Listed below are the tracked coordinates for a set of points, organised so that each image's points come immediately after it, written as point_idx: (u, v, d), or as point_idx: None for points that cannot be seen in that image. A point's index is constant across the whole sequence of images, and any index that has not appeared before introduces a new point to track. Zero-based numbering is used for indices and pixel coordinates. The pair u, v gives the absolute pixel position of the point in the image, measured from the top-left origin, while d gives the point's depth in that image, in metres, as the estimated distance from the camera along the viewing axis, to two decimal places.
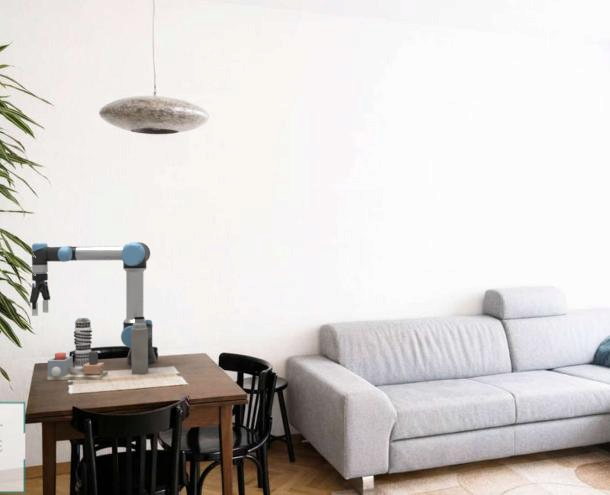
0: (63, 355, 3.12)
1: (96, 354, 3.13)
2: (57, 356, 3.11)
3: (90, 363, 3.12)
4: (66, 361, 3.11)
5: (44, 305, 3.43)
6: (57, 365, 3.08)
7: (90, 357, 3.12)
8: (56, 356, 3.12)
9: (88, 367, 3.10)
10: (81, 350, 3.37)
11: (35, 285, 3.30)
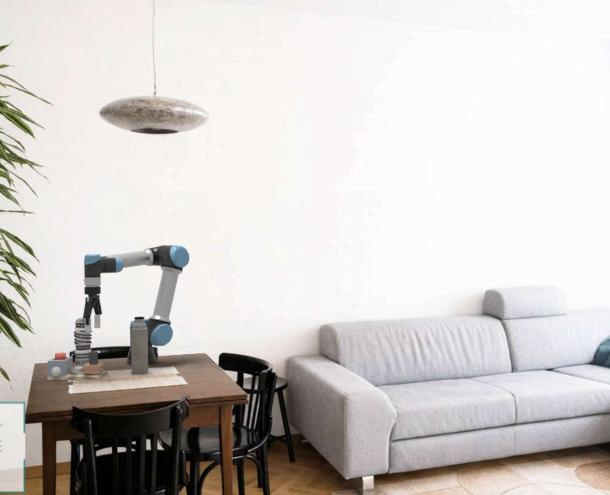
0: (63, 355, 3.12)
1: (96, 354, 3.13)
2: (57, 356, 3.11)
3: (90, 363, 3.12)
4: (66, 361, 3.11)
5: (96, 320, 3.20)
6: (57, 365, 3.08)
7: (90, 357, 3.12)
8: (56, 356, 3.12)
9: (88, 367, 3.10)
10: (81, 350, 3.37)
11: (88, 299, 3.07)
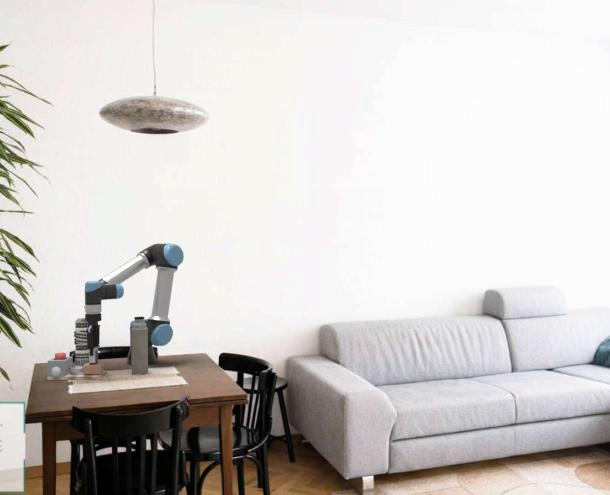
0: (63, 355, 3.12)
1: (96, 354, 3.13)
2: (57, 356, 3.11)
3: (90, 363, 3.12)
4: (66, 361, 3.11)
5: None
6: (57, 365, 3.08)
7: None
8: (56, 356, 3.12)
9: (88, 367, 3.10)
10: (81, 350, 3.37)
11: (90, 331, 3.07)
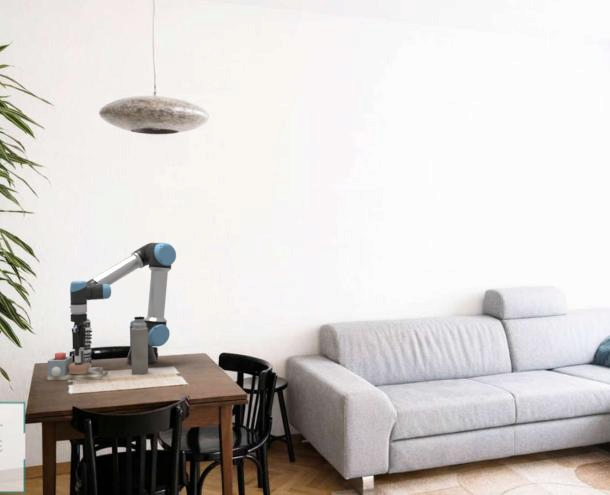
0: (63, 355, 3.12)
1: (81, 354, 3.13)
2: (57, 356, 3.11)
3: (75, 363, 3.12)
4: (66, 361, 3.11)
5: None
6: (57, 365, 3.08)
7: None
8: (56, 356, 3.12)
9: (73, 367, 3.10)
10: None
11: (75, 331, 3.07)
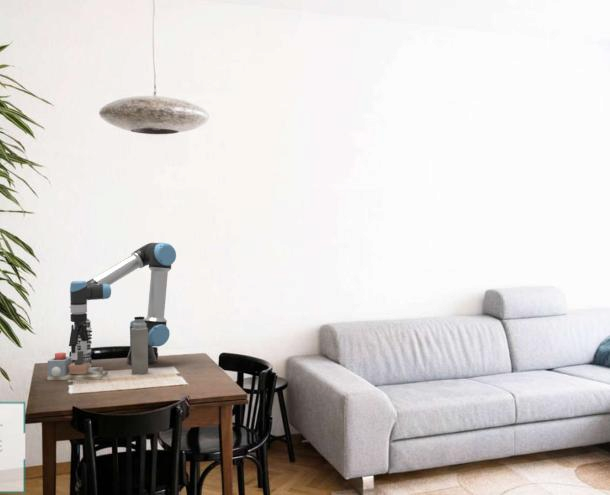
0: (63, 355, 3.12)
1: (81, 354, 3.13)
2: (57, 356, 3.11)
3: (75, 363, 3.12)
4: (66, 361, 3.11)
5: (82, 347, 3.20)
6: (57, 365, 3.08)
7: None
8: (56, 356, 3.12)
9: (73, 367, 3.10)
10: None
11: (74, 327, 3.07)
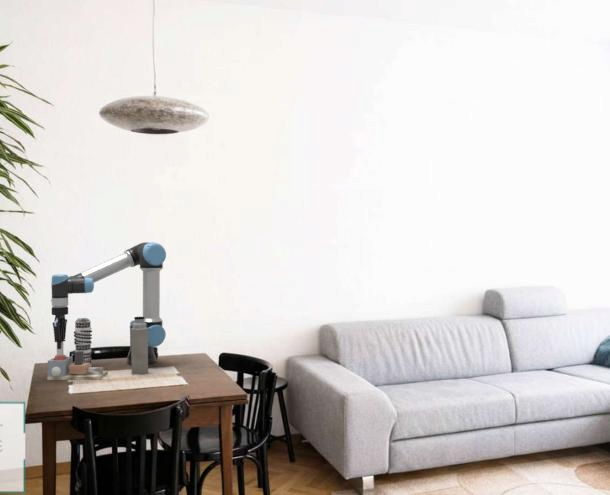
0: (63, 357, 3.12)
1: (81, 354, 3.13)
2: (57, 359, 3.11)
3: (75, 363, 3.12)
4: (66, 361, 3.11)
5: None
6: (57, 365, 3.08)
7: (75, 357, 3.12)
8: (56, 358, 3.12)
9: (73, 367, 3.10)
10: (81, 350, 3.37)
11: (56, 325, 3.08)
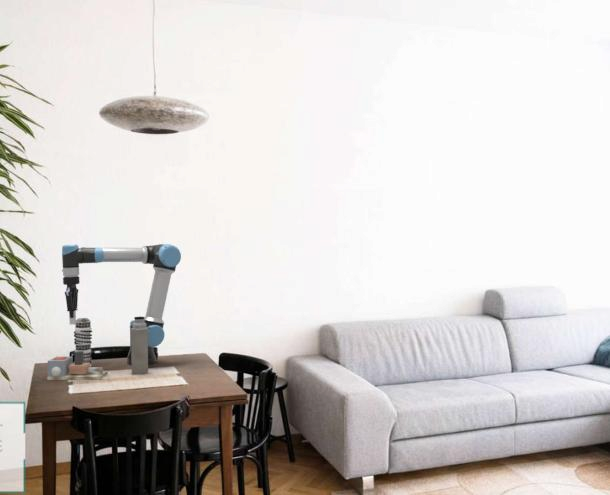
0: (63, 359, 3.12)
1: (81, 354, 3.13)
2: None
3: (75, 363, 3.12)
4: (66, 361, 3.11)
5: None
6: (57, 365, 3.08)
7: (75, 357, 3.12)
8: None
9: (73, 367, 3.10)
10: (81, 350, 3.37)
11: (68, 294, 3.12)
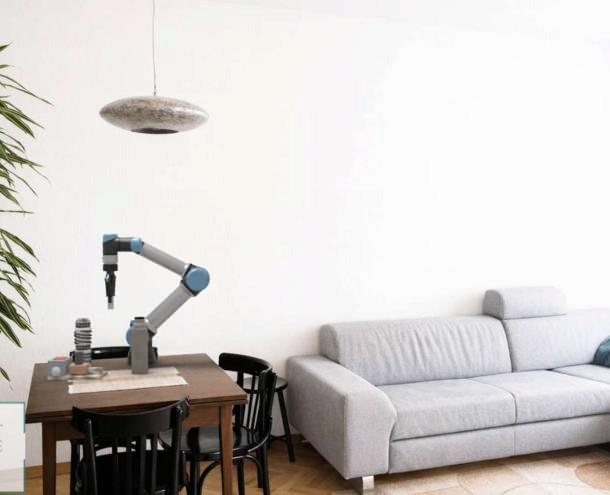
0: (63, 359, 3.12)
1: (81, 354, 3.13)
2: None
3: (75, 363, 3.12)
4: (66, 361, 3.11)
5: None
6: (57, 365, 3.08)
7: (75, 357, 3.12)
8: None
9: (73, 367, 3.10)
10: (81, 350, 3.37)
11: (108, 280, 3.29)
